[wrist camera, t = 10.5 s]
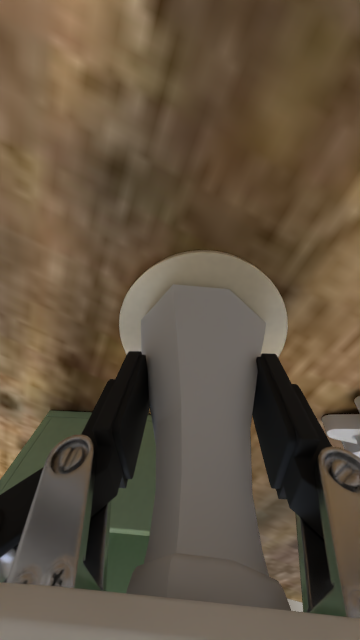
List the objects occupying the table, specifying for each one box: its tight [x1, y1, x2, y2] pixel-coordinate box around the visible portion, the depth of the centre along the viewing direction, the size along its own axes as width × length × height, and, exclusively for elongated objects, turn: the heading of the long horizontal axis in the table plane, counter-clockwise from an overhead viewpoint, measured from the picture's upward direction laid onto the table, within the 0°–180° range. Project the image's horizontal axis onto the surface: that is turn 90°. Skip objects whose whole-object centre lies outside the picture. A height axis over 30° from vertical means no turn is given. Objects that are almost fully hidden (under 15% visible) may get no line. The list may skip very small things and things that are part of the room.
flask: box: [126, 284, 291, 611], centre depth 9 cm, size 7×7×10 cm
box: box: [0, 411, 156, 593], centre depth 18 cm, size 16×15×7 cm
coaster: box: [119, 250, 288, 357], centre depth 13 cm, size 10×10×1 cm
